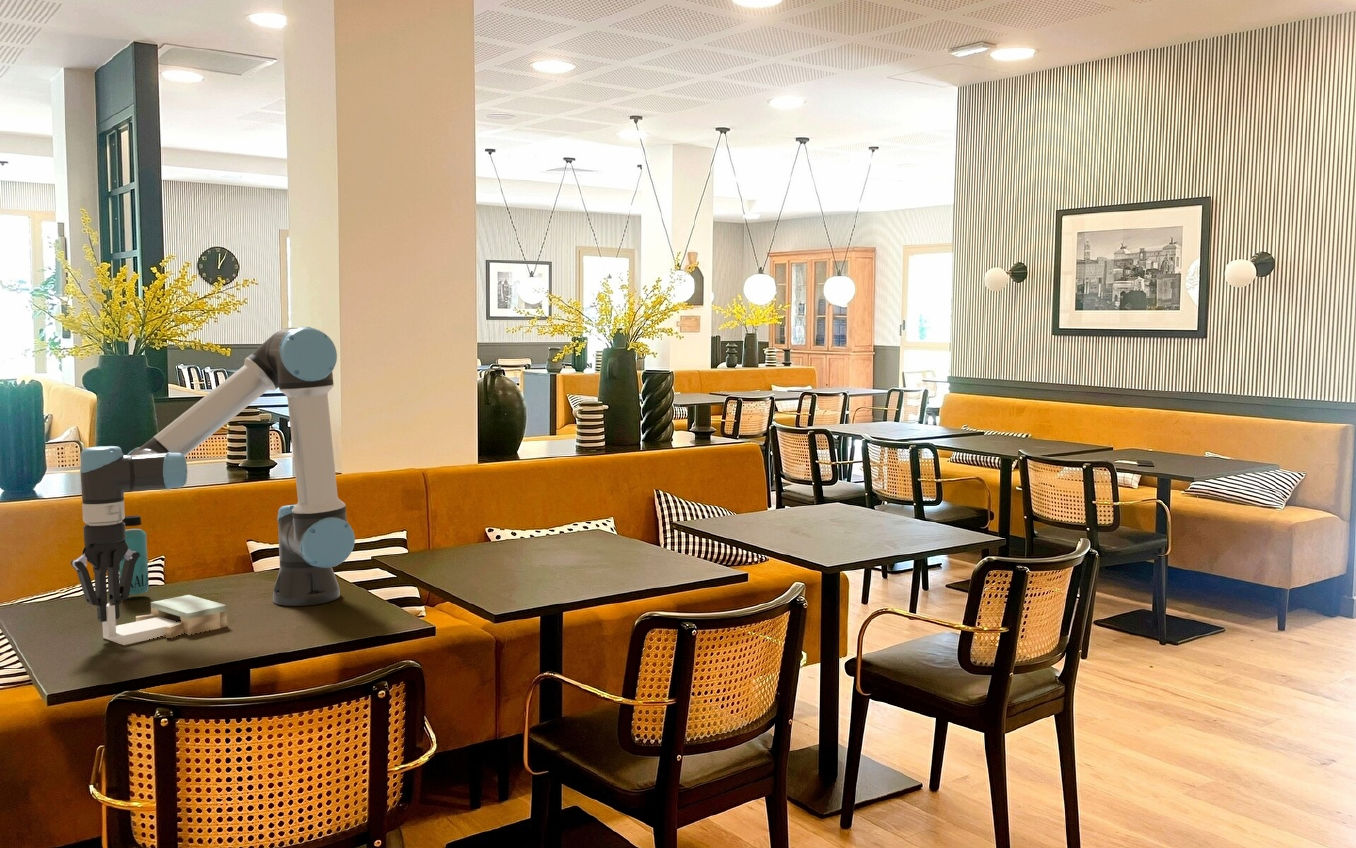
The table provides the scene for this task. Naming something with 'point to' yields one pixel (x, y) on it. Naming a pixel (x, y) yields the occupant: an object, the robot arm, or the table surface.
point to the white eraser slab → (141, 630)
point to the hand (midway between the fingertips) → (109, 635)
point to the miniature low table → (188, 615)
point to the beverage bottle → (139, 544)
